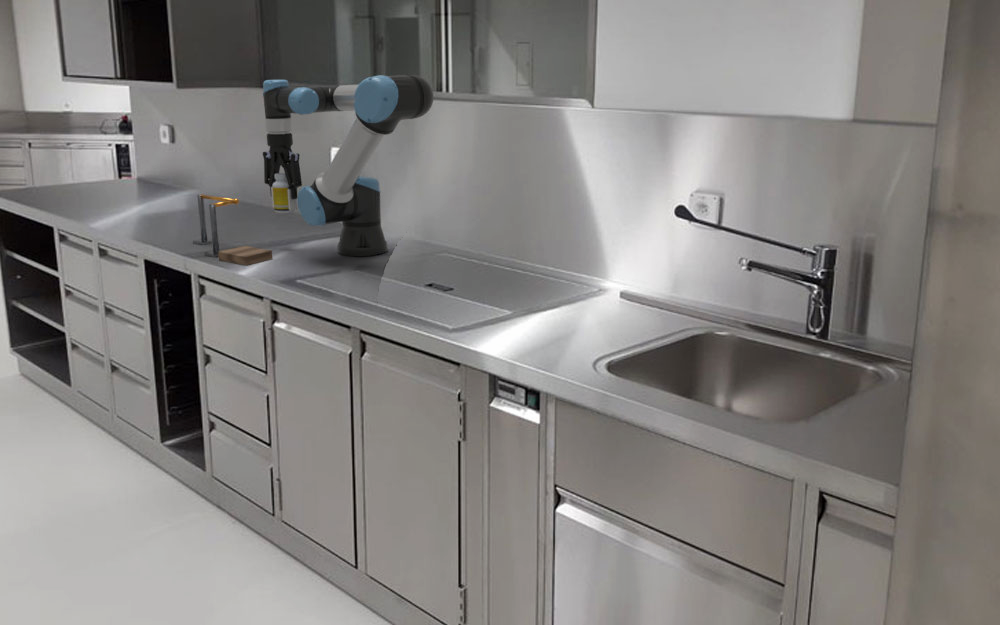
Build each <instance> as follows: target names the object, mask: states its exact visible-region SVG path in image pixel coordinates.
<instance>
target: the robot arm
mask: <svg viewBox="0 0 1000 625" xmlns="http://www.w3.org/2000/svg"><path fill="white" fill-rule="evenodd" d="M262 85H263V86H262V87H263V88H262V90H263V92H262V95H263V96H262V97H263V103H264V104H263V105H264V116H265V118H264V119H265V132H267V134H266V143H267V146H268V147H269V150H268V151H263V152H262V157H263V169H264V172H263V173H264V174H263V175H264V177H263V178H264V181H263V182H264V184H265V185H268V187H269V191H270V192H269V193H270V196H271V203H272V204H271V205H272V209H274V200H273V187H272V185H273V183H274V182H276V179H275V174H276V173H280V170H281V167H282V168H283V171H284V172H283V173H285V175H286V178H287V181H288V185H289V187H288V189H287V191H288V205H289V210H295V211H296V210H298V212H299V213H300V215H301V217H302V219H303V220H304V222H306V223H307V224H308V225H310V226H312V227H317V226H321V227H323V226H326V225H332V224H337V223H342V229H341V233H340V237H339V242H338V243H337V253H339V254H340V255H343V256H349V257H350V256H351V257H371V255H372V256H378V255H377V254H379V255H382V254H384V252H385V253H386V251H387V252H388V242H387V240H386V238H385V235H384V231H383V228H382V221H381V220H382V219H381V218H382V217H381V214H382V213H381V190H380V182H379V180H378V179H377V178H374V177H371V176H364V175H363V176H361V174H362V173H363V171H364V169H365V167H366V166H367V164H368V163H369V161H370V159H371V158H372V157H373V155H374V153H375V152H376V150H377V148H378V146H379V145H380V143H381V141H382V140H383V138H384V136H388V135H391V134H393V132H394V131H395V129H396V128H397V126H399V123H400V122H401V121H403V120H404V121H405V120H413V119H418V118H421V117H423V116H424V115H426V114H427V113H428V112H429V111H430V110H431V108H432V106H433V103H434V99H435V97H434V91H433V90H434V89H433V88H432V86H431V84H430V83H429V82H428V81H427V80H426V79H425V78H423V77H421V76H420V75H416V74H415V75H414V74H402V75H401V74H400V75H398V74H396V75H383V74H382V75H381V74H380V75H374V76H370V77H367V78H365V79H363V80H362V81H360V82H359V83H358V84H346V85H345V84H343V85H342V84H337V85H336V84H335V85H325V86H324V85H323V86H302V87H297V86H295V87H294V86H293V87H291V86H290V85H289V81H288V80H287V79H266V80H264V81H263V83H262ZM326 112H327V113H330V112H354V114H355V117H356V119H355V120H354V122H353V124H352V126H351V127H350V129H349V131H348V133H347V134H346V136H345V138H344V140H343V141H342V143H341V145H340V147H339V148H338V150H337V151H336V154H335V155H334V157H333V159H332V161H331V162H330V164H329V166H328V168H327V169H326V171H323V172H320V173H319V174H317V176H316V178H315V179H314V181H313V183H312V184H311V185H305V186H303V184H302V183H303V181H302V176H301V175H302V174H301V168H300V153H294V152H293V150H292V145H293V144H294V143H293V142H294V140H293V133H292V131H293V130H292V115H291V114H294V115H296V114H297V115H299V116H300V115H301V116H303V115H311V114H314V113H315V114H316V113H326ZM292 183H293V184H292ZM302 186H303V187H302ZM300 187H301V189H299V191H298V188H300ZM381 253H382V254H381Z"/></svg>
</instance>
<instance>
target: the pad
mask: <svg viewBox="0 0 1000 625" xmlns="http://www.w3.org/2000/svg"><path fill="white" fill-rule="evenodd" d="M218 256H219V257H218V260H219V261H221V262H222V261H223V262H228V263H233V264H237V265H242V266H249V265H253V264H258V263H262V262H266V261H269V260H273V250H270V249H266V248H259V247H254V246H248V245H242V246H237V247H233V248H228V249H224V250H222V251H219V252H218Z"/></svg>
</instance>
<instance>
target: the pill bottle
mask: <svg viewBox="0 0 1000 625" xmlns="http://www.w3.org/2000/svg"><path fill="white" fill-rule="evenodd" d="M275 179H276V182H274V183H273V185H272V187H273V200H274V208H273V210H274V212H276V213H279V214H286V213H287V214H288V213H293V212H296V209H295V210H289V205H288V191H287V189H288V187H289V185H288V181H287V178H286V175H285V172H279V173H276V174H275ZM292 184H293V183H292Z"/></svg>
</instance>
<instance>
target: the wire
mask: <svg viewBox="0 0 1000 625" xmlns="http://www.w3.org/2000/svg"><path fill="white" fill-rule="evenodd" d="M196 196H197V205H198V217H199V218H198V219H199V229H200V238H198V239H194V240H192V244H195V245H201V246H204V245H209V244H212V250H210V251H206V252H204V253H203V254H204V256H206V257H211V258H219V256H218V252H219V251H223V250H221V249H220V242H219V229H218V222H217V221H218V220H217V211H216V210H217V209H216V208H220V207H223V206H224V207H225V206H230V205H238V204H239V203H240V200H239V198H229V197H221V196H215V195H207V194H202V193H201V194H200V193H198V194H197V195H196ZM205 200H210V201H211V200H212V201H216V202H214V203H209V204H208V208H209V220H210V221H209V222H210V230H211V232H210V233H211V238H208V235H207V234H208V232H207V221H206V210H205Z"/></svg>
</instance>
